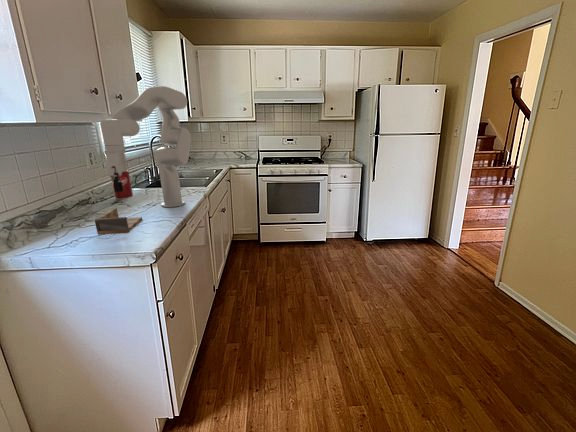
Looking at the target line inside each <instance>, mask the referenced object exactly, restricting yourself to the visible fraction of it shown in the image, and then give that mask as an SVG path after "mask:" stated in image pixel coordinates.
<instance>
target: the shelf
mask: <svg viewBox="0 0 576 432" xmlns="http://www.w3.org/2000/svg"><path fill="white" fill-rule="evenodd" d="M142 221H143V217H142V216H139V217H138V216H136V217H135V216H134V217H126V216H123V217H119V213H118V208H116V207H115V208H114V207H113V208H112V209H110V210H109V211H106V212H105V213H104V214H102V215H100V216H98V217H96V218H95V219H94V224H95V227H96V228H95V229H96V233H97V235H98V236H100V235H101V236H102V235H116V234H128V233H130V232H131V231H132V230H133V229H134V228H135V227H136V226H137V225H138V224H140V223H141V222H142Z"/></svg>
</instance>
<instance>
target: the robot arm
mask: <svg viewBox="0 0 576 432" xmlns="http://www.w3.org/2000/svg"><path fill="white" fill-rule="evenodd" d="M187 106H188V99H187V97H186V95H185V94H184V93H183V92H182V91H179V90H177V89H174V88H171V87H170V86H169V87H168V86H164V85H163V86H160V85H159V86H150V87H149V86H148V87H147V88H145V89H143V91H142V92H141V93H140V95H139V96H138V97H137V98H136V99H135V100H134V101H133V102H131V103H129V104H127V105H125V106H124V107H122V108H120V109H118V110H117V111H115V112H114V113H112V115H111V116H110V117H109V118H108V119H101V120H100V122H99V123H100V128H101V129H100V130H101V135H102V139H103V144H104V151H105V153H106V165H107V171H108V176H109V177H110V178H112V180H113V184H114V189H115V192H122V191H123V187H122V182H120V181H121V177H120V176H122V172H124V171H127V170H128V171H129V167H128V162H127V156H126V147H125V140H124V137H134V136H137V135H138V134H139V133H140V129H141V128H140V124H139V123H138V122H137V121H140V120H144V119H146V118H148V117H150V115H151V114H152V113H153V112H154V111H155V109H156V108H158V110H159V112H160V114H161V117H162V126H161V131H160V142H161V144H162V145H164V146H165V147H164V146H163V147H158V149H156V150H155V152H154V158H155V162H156V165H157V167H158V172H159V177H160V178H159V179H160V185H161V190H162V198H163V202H162V203H160V204H161V207H163V208H175V207H181V206H183V205H185V204H186V201H185V200H183V199H182V198H183V197H182V190H181V184H180V177H179V171H178V169H177V168H176V166H185V165H186V164H187V163H188V161H189V159H190V158H189V157H190V149H191V143H192V142H191V141H192V139H191V133H190V131H189V130H188V129H187V128H185V127H180V119H179V118H180V117H178V115H177V114H176V112H175V110H184V109H186V108H187ZM166 146H167V147H166ZM115 173H118V174H119V175H115ZM117 177H118V179H117ZM112 180H111V181H112Z"/></svg>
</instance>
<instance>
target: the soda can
mask: <svg viewBox="0 0 576 432" xmlns="http://www.w3.org/2000/svg"><path fill="white" fill-rule="evenodd" d="M115 175H119V174H118V173H115ZM130 176H131V175H130V171H129V169H128V170H127V171H124V172H122V176H120V177H121V181H120V182H122V187H123V191H122V192H115V189H114V184H113V180H112V178H111V177H110V178H111V184H112V189H113V195H114V198H115V199H116V200H127V199H132V198H133V196H134V193H133V188H132V183H131V182H132V181H131V177H130ZM117 179H118V177H117Z"/></svg>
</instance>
